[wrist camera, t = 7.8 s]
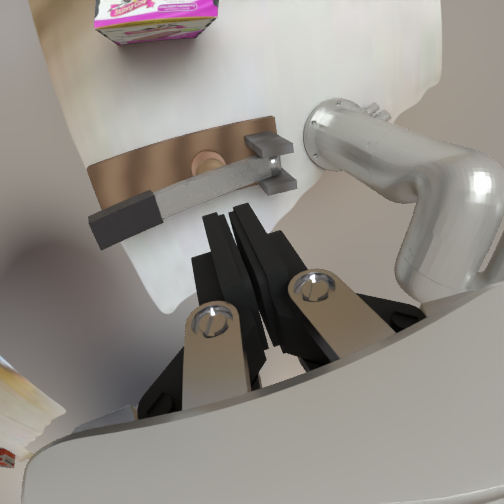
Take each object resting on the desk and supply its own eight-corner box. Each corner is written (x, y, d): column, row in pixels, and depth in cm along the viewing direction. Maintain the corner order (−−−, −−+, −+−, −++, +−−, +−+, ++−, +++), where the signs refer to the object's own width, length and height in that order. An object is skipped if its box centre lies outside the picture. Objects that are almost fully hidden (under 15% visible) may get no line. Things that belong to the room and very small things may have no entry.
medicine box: (-1, 453, 79) (-2, 467, 72) (-13, 447, 74) (-14, 460, 68) (15, 454, 81) (14, 468, 74) (3, 447, 76) (2, 462, 69)
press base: (271, 115, 42) (298, 127, 34) (278, 175, 48) (305, 199, 40) (88, 166, 38) (71, 190, 30) (110, 223, 44) (101, 258, 36)
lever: (272, 146, 39) (282, 149, 37) (276, 171, 41) (285, 175, 40) (88, 216, 31) (88, 223, 29) (99, 242, 33) (101, 250, 31)
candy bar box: (116, 47, 30) (90, 31, 17) (117, 15, 28) (93, -17, 14) (198, 40, 33) (219, 18, 20) (199, 8, 30) (221, -28, 17)
